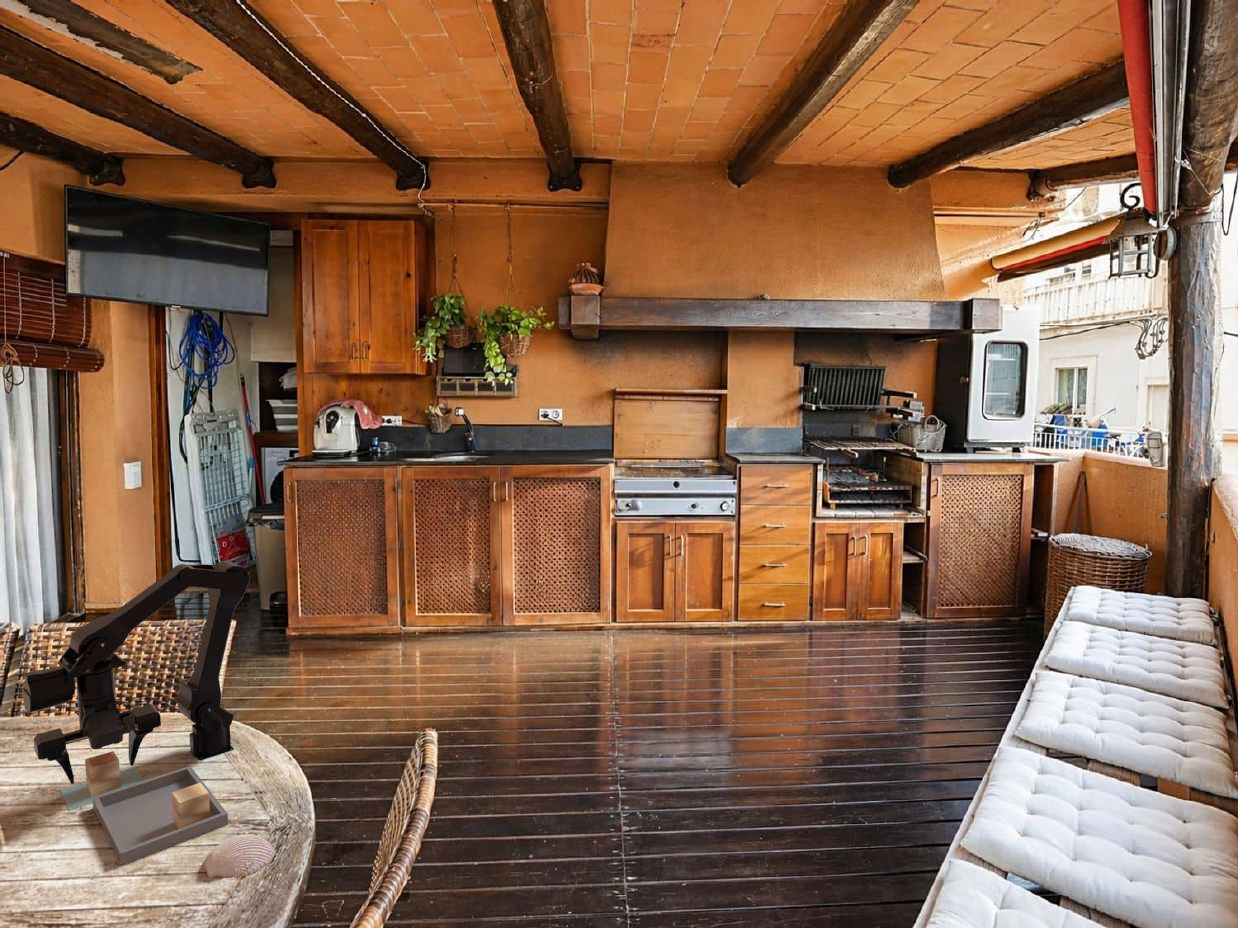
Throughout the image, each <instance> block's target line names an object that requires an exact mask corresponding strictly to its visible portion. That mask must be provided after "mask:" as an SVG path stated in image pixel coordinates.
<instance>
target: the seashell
mask: <svg viewBox="0 0 1238 928" xmlns="http://www.w3.org/2000/svg"><path fill="white" fill-rule="evenodd" d="M273 852H274V851H273V846H272V844H271V843H270V842H269V841H268V840H266V839H263V838H262V837H260V836H256V835H252V834H251V835H250V834H246V835H244V834H243V835H237V836H233V837H230V838H227V839H225V840H223V841H221V842H220V843H219V844H218V845H216V846H215V847H214V848H213V849H212V850H211V851H210V852H209V854H207V857H206V858H205V860H204V861H203V868H204V869H205V871H206V873H207V874H206V875H207V876H208V877H209V878H214V877H224V878H226V877H233V876H234V877H233V879H241V877H247V876H248V875H253V874H254V873H257V872H258V871H261V869H264V867H267V866H268V865H269V864H270V863H271V862H268V861H269V860H270V859H271V856H272V855H273Z"/></svg>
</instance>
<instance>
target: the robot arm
mask: <svg viewBox="0 0 1238 928" xmlns="http://www.w3.org/2000/svg"><path fill="white" fill-rule="evenodd" d="M250 582H251V575H250V573H249V571H248V570H247V569H246V568H245V567H244V566H241V565H238V564H236V563H234V562H232V561H228V560H224V561H221V560H220V561H219V562H216V563H215V564H206V563H205V564H203V563H202V564H186V563H180V564H177V565H175V566H173V568H172V569H170V571H169V572H167V573H166V574H164V575H163V576H162V577H161V578H159V579H158V580H156V581H155V582H153V583H152V584H151V585H150V586H148V587H147V588H146V589H144V590H143V591H142V592H140V593H139V594H137V595H136V596H135V597H133V598H131V599H130V600H129V601H127V602H126V603H125V604H123V605H122V606H121V607H120V608H118V609H116V610H115V611H112V612H111V613H108V614H106V615H103V616H99V617H97V618H95V619H93V620H92V621H89V622H88V623H86V624H84V625H82V626H80V627H78V628H77V629H76V630H75V631H74V632H73V633H72V634H71V636H70V642H69V644H70V645H69V646H68V648H67V649H66V650H65V652H64V653H63V654H62V656H61V657H60V659H59V660H58V661H57V665H58V666H55V667H51V668H46V669H43V670H34V671H30V672H26V673H25V674H24V681H23V688H21V692H22V699H23V700H22V701H23V704H24V707H25V710H26V712H27V713H28V714H30V713H35V712H38V711H42V710H45V709H50V708H53V707H57V706H60V705H65V704H68V703H69V701H71V700H73V698H74V697H73V696H75V694H77V710H78V720H79V721H78V722H79V729H77V730H74V731H73V730H72V731H70V732H64V733H63V731H62V729H61V727H59V728H55V729H51V730H48V731H43V732H40V733H37V734H36V735H35V737H34V738H33V750H34V752H35V754H36V757H37V759H38V760H41V761H42V760H47V761H49V762H52V761H55V762H57V763H58V764H59V766H60V767H61V768H62V769H63V771H64V773H65V776H66V777H67V779H68V781H69V783H70V784H71V785H74V784H75V777H74V772H73V768H72V764H71V761H70V754H69V751H68V749H67V745H70V744H73V743H76V742H81V741H84V740H87V739H88V741H89V746H90V748H91V749H93V750H99V749H102V748H103V747H107V746H111V745H117V744H120V743H121V742H123V740H124V735H126V734H128V762H129V766H134V764H135V761H136V758H137V755H138V753H139V749H140V746H141V744H142V741H143V740H144V738H145V737H146V736H147V735H149V734H150V733H153V732H154V729H155V728H160V726H161V725H162V721H161V718H162V717H161V714H160V712H159V711H158V709H157V708H156V707H155V706H154V705H152V704H147V705H143V706H139V707H136V708H132V709H130V710H127V711H125V712H123V711H122V712H120V711H119V709H118V705H117V696H116V695H117V694H116V681H115V669H116V668H120V667H124V666H127V664H128V663H127V661H126V660H124V658H122V657H121V656H118V655H117V654H116V653H115V652H116V651H117V650H118V649H119V648H120V647H121V646H122V645H123V644H124V643H125V641H126V640H127V638H128V637H129V635H130V634H131V632H133V630H134V629H135V628H137V627H138V626H140V625H141V623H143V622H145V621H146V620H147V619H148V618H150V617H151V616H152V615H153V614H155V613H156V612H158V611H159V610H160V609H161V608H163V607H164V606H166V605H167V604H169V603H171V601H172V600H174V599H175V598H176V597H178V596H179V595H180V594H181V593H184V591H186V590H187V589H189V588H190V587H191V588H192V587H193V588H194V587H195V588H204V589H205V588H206V591H207V596H208V602H209V603H208V604H209V607H208V609H207V616H206V620H205V624H204V628H203V633H202V638H201V640H200V646H199V651H198V654H197V657H196V663H195V668H194V672H193V674H192V675H191V676H190V678H189V680H188V681H187V682H186V681H180V682H179V688H178V694H177V696H176V698H175V700H174V701H175V702H176V703H177V710H179V712H180V713H181V714H182V715H183V716H184V717H186V718H187V719H188V720H189V721H191V722H192V723H193V724H192V725H191V729H192V732H190V733H189V748H190V750H189V751H190V753H191V754H192V756H193V757H195V758H197V759H198V760H199V761H204V760H207V759H209V758H213V757H216V756H219V755H222V754H225V753H228V752H233V750H235V748H234V747H233V746H232V742H231V725H232V722H233V721H234V720H233V719H234V716H235V715H234V714H233V713H232V712H230V711H228V710H227V709H226V708H225V707H223V706H222V690H221V684H220V673H221V670H222V665H223V661H224V656H225V651H226V647H227V643H228V640H229V639H228V638H229V633H230V629H231V625H232V621H233V616H234V611H235V610H236V608H237V607H238V604H240V602H241V601H242V599H243V598H244V596H245V593H246V591H247V589H248V586H249V584H250ZM75 680H76V681H75Z"/></svg>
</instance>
